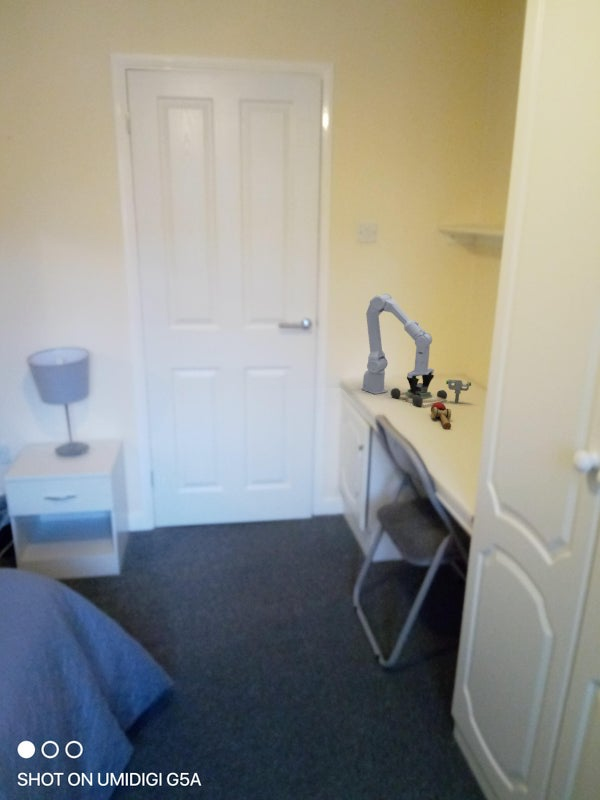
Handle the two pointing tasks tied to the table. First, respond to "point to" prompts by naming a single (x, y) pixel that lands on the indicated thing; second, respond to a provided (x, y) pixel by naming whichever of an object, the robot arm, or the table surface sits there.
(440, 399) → the chassis
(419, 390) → the block
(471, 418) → the table surface
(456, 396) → the mechanical component
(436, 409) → the kendama
